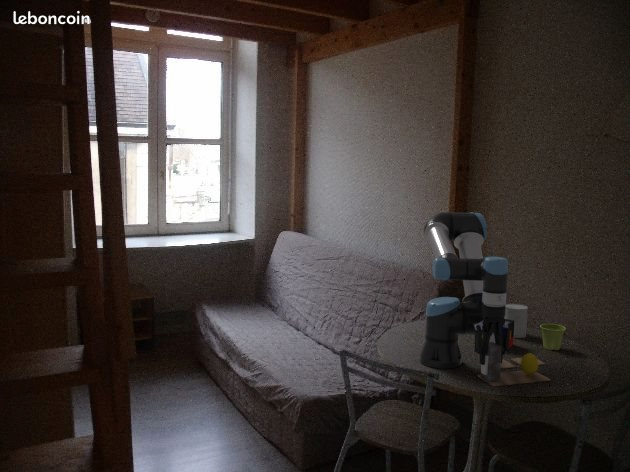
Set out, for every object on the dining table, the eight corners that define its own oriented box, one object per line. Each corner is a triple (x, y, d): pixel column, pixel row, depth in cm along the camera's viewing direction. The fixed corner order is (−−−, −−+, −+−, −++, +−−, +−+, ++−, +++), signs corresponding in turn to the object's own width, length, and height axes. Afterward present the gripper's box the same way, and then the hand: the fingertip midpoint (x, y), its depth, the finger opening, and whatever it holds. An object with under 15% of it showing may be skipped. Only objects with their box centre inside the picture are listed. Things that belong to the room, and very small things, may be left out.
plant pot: (556, 353, 223) (558, 331, 222) (534, 347, 230) (535, 326, 229) (569, 349, 229) (570, 327, 228) (546, 343, 236) (547, 322, 235)
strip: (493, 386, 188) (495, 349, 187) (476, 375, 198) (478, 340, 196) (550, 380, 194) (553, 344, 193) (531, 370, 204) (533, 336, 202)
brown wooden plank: (492, 369, 204) (492, 368, 204) (480, 362, 212) (480, 361, 212) (546, 364, 210) (546, 363, 210) (532, 357, 218) (532, 356, 218)
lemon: (534, 372, 200) (535, 350, 199) (539, 378, 195) (541, 355, 194) (517, 372, 200) (519, 350, 200) (523, 378, 195) (524, 355, 194)
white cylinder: (504, 330, 254) (505, 302, 253) (527, 333, 250) (529, 305, 249) (501, 335, 246) (502, 307, 244) (524, 339, 242) (526, 310, 240)
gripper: (477, 308, 184) (473, 379, 187) (523, 305, 189) (519, 374, 192) (464, 303, 192) (461, 371, 194) (509, 300, 196) (505, 367, 199)
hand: (490, 372), depth 193 cm, fingers closed on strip, 4 cm apart
